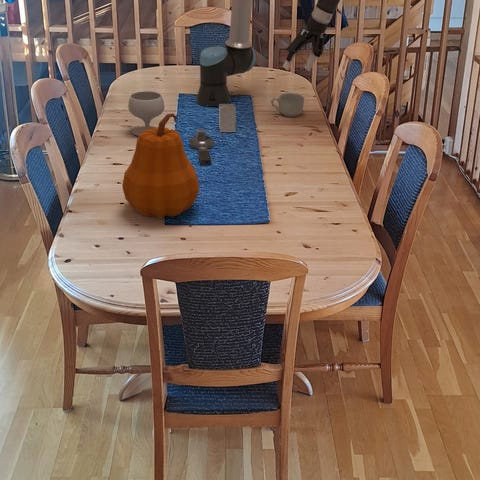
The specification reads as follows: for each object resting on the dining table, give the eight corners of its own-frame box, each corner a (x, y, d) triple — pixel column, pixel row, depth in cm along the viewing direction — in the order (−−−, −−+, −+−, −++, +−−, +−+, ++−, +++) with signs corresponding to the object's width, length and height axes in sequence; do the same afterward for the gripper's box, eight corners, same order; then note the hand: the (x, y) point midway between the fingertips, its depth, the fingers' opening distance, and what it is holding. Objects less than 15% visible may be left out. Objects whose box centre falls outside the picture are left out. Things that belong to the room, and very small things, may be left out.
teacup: (303, 111, 325) (304, 93, 321) (303, 119, 316) (304, 100, 312) (271, 109, 326) (272, 91, 323) (269, 117, 317) (270, 99, 313)
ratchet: (188, 142, 289) (188, 127, 287) (212, 141, 290) (212, 126, 288) (193, 165, 268) (193, 149, 265) (218, 164, 269) (218, 149, 266)
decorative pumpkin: (161, 187, 251) (158, 99, 237) (215, 207, 238) (215, 115, 224) (107, 210, 235) (101, 117, 221) (162, 233, 221) (158, 136, 207)
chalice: (122, 134, 295) (120, 97, 288) (142, 124, 306) (141, 88, 299) (152, 141, 290) (151, 103, 283) (172, 130, 301) (171, 93, 294)
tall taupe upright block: (218, 128, 304) (219, 104, 299) (233, 127, 305) (234, 103, 300) (220, 133, 299) (220, 108, 294) (235, 132, 299) (235, 108, 295)
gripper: (306, 22, 278) (282, 73, 289) (345, 26, 297) (321, 74, 307) (293, 12, 282) (270, 63, 293) (332, 17, 300) (309, 65, 311)
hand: (296, 69), depth 300 cm, fingers open, 13 cm apart
